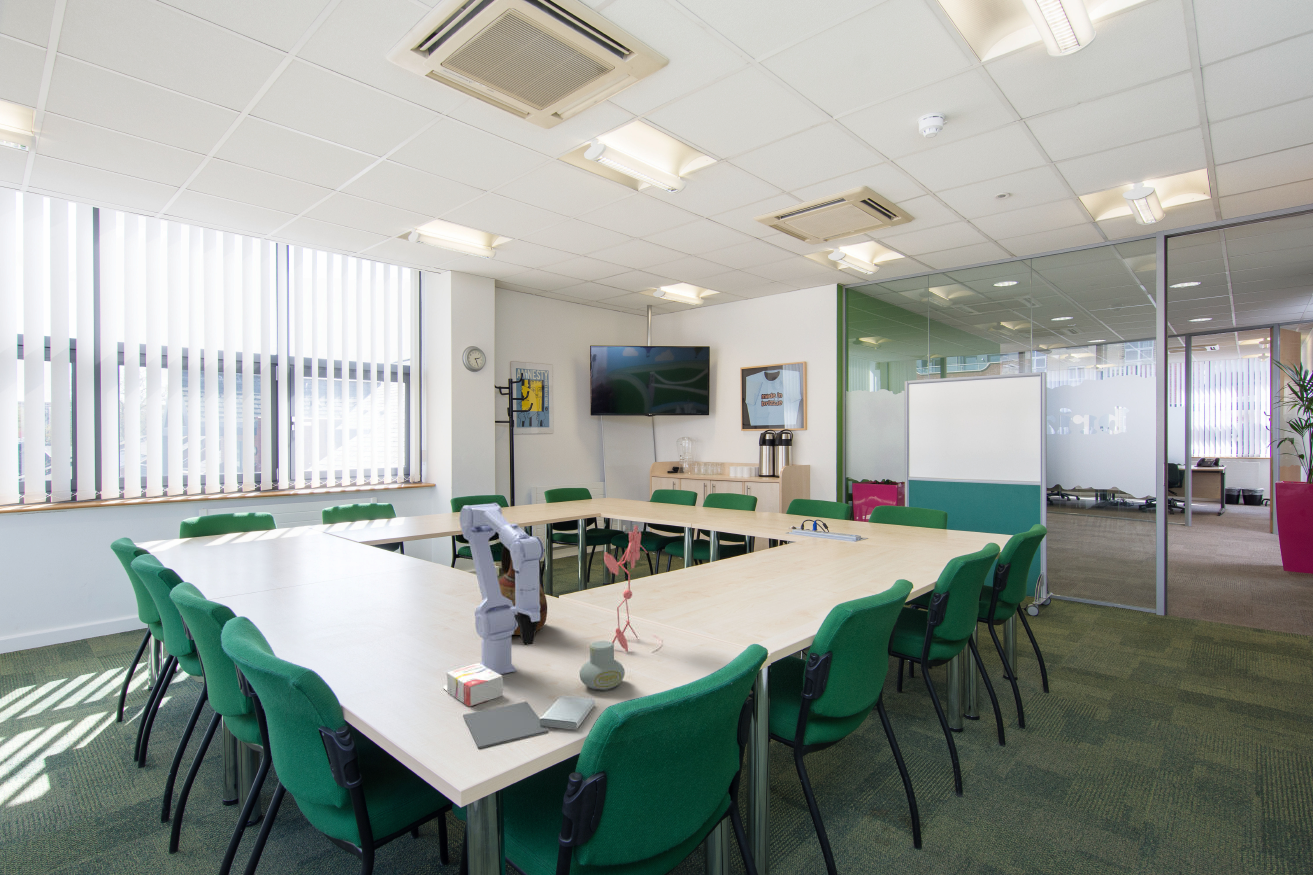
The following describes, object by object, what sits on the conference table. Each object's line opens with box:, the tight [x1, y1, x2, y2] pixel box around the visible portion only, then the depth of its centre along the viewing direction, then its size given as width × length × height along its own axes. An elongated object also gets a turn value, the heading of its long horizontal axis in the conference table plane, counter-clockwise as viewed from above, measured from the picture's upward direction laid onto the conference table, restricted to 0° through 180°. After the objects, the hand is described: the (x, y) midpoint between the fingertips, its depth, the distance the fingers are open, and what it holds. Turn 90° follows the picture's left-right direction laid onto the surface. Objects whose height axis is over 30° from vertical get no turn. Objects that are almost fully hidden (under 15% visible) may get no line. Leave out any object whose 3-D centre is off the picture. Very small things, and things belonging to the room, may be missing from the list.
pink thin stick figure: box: [603, 524, 663, 653], centre depth 177 cm, size 15×26×35 cm, turn 165°
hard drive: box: [539, 695, 596, 731], centre depth 131 cm, size 2×8×12 cm
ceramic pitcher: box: [498, 544, 548, 636], centre depth 192 cm, size 20×20×30 cm
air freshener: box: [579, 640, 626, 691], centre depth 148 cm, size 11×8×10 cm
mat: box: [462, 701, 549, 750], centre depth 128 cm, size 16×14×1 cm
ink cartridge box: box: [442, 662, 504, 707], centre depth 144 cm, size 9×5×15 cm
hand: (527, 643), depth 147 cm, fingers closed
